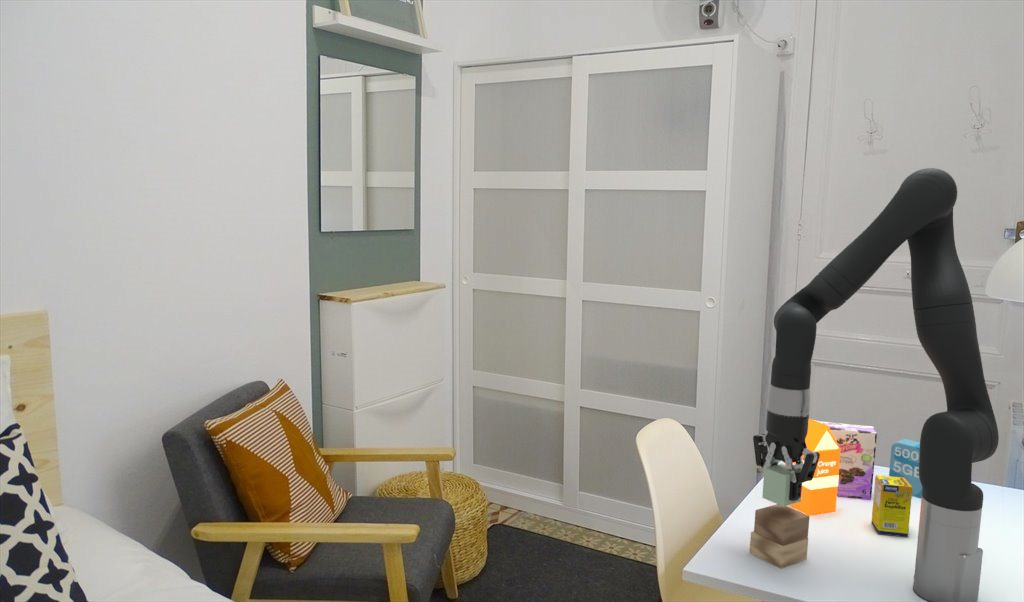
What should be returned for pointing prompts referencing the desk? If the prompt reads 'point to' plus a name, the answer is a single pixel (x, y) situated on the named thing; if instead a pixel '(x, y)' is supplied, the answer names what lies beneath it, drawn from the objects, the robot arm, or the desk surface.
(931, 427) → the robot arm
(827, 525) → the desk surface
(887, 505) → the supplement box
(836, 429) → the candy box
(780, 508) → the walnut block
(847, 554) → the desk surface
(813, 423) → the orange juice
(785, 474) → the green block
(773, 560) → the oak block
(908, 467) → the data package
